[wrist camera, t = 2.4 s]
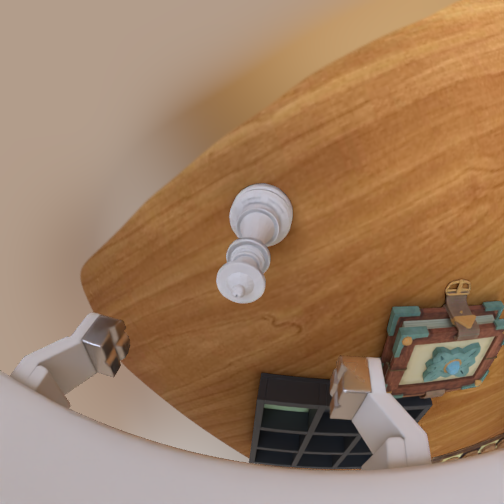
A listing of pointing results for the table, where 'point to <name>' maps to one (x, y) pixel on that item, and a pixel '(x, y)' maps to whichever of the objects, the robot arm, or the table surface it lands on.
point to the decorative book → (441, 345)
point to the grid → (309, 426)
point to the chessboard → (473, 449)
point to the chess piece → (253, 240)
